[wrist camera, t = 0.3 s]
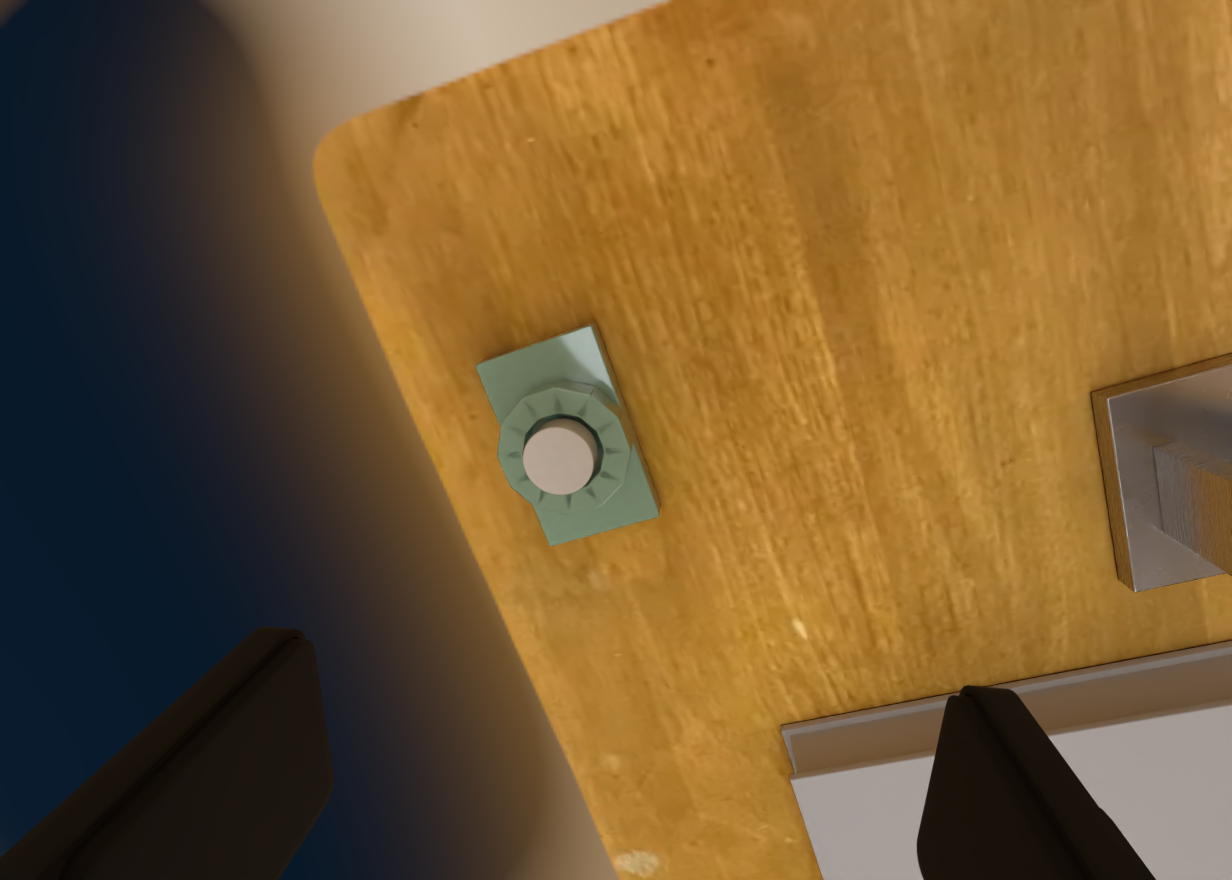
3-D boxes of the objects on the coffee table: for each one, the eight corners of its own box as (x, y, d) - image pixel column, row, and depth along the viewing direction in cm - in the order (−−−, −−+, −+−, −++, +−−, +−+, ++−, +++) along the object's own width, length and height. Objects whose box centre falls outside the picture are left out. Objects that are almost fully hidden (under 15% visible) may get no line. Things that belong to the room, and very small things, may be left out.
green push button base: (482, 359, 31) (461, 372, 28) (596, 320, 30) (586, 328, 27) (554, 535, 34) (541, 562, 31) (662, 505, 32) (659, 530, 30)
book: (790, 780, 32) (1339, 686, 27) (780, 725, 36) (1263, 633, 31) (869, 1020, 37) (1351, 977, 32) (853, 949, 40) (1283, 901, 35)
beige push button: (520, 429, 29) (511, 439, 28) (584, 409, 28) (578, 418, 27) (545, 490, 30) (537, 503, 28) (607, 472, 29) (603, 484, 28)
